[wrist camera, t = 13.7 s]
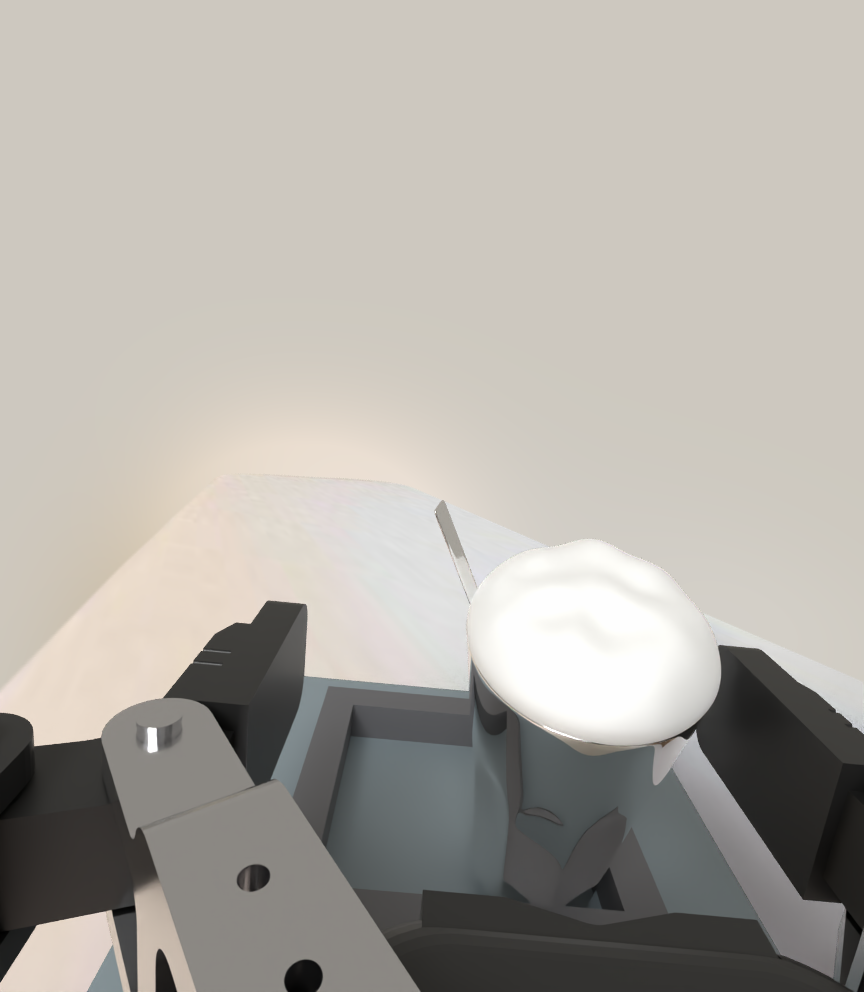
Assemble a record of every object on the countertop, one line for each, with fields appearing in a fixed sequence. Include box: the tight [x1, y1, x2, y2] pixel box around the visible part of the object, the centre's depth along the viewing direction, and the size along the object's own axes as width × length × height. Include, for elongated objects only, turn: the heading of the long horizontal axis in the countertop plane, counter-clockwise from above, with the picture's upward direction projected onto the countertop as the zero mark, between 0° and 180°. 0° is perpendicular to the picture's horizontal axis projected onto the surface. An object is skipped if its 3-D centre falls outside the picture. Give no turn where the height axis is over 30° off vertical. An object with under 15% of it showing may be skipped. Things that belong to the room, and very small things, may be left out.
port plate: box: [87, 676, 780, 992], centre depth 17 cm, size 15×14×2 cm
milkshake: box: [435, 500, 721, 910], centre depth 13 cm, size 5×5×10 cm
